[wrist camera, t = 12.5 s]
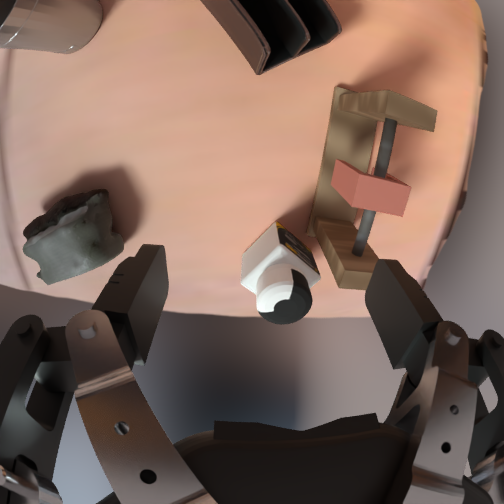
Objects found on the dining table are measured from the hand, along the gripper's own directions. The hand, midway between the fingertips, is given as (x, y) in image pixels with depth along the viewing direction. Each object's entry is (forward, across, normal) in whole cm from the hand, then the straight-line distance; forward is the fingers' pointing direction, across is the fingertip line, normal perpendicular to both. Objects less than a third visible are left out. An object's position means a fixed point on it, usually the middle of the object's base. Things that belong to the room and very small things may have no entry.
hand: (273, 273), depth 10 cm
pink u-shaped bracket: (+20, -11, +1) cm, 23 cm away
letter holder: (+27, +2, -20) cm, 34 cm away
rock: (+26, +27, +12) cm, 39 cm away
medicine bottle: (+25, -4, +14) cm, 29 cm away
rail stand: (+25, -11, +1) cm, 28 cm away
